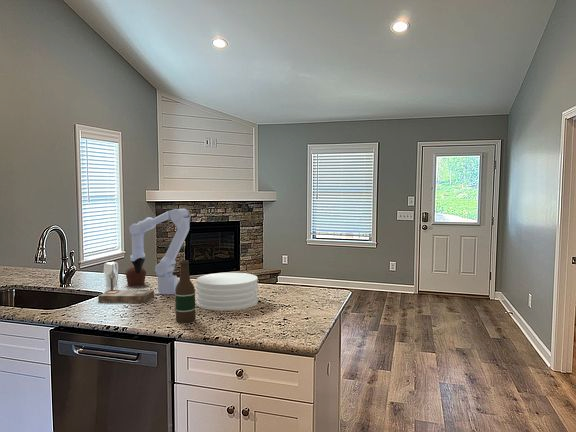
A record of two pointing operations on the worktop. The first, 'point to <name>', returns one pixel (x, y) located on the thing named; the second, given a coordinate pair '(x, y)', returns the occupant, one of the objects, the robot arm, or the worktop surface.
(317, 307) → the worktop surface
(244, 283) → the plate stack
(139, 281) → the muffin
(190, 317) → the beer bottle
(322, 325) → the worktop surface
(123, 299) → the wooden board
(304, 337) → the worktop surface
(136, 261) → the robot arm
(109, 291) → the terracotta key
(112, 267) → the beer glass
